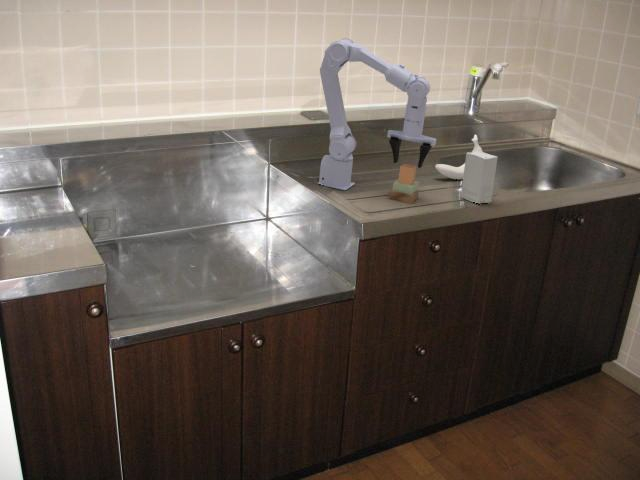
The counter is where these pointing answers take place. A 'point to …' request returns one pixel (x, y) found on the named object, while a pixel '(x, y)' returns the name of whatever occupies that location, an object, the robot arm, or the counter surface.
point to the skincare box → (478, 177)
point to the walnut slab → (403, 196)
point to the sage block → (405, 187)
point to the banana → (456, 171)
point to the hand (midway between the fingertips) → (407, 164)
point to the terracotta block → (407, 174)
